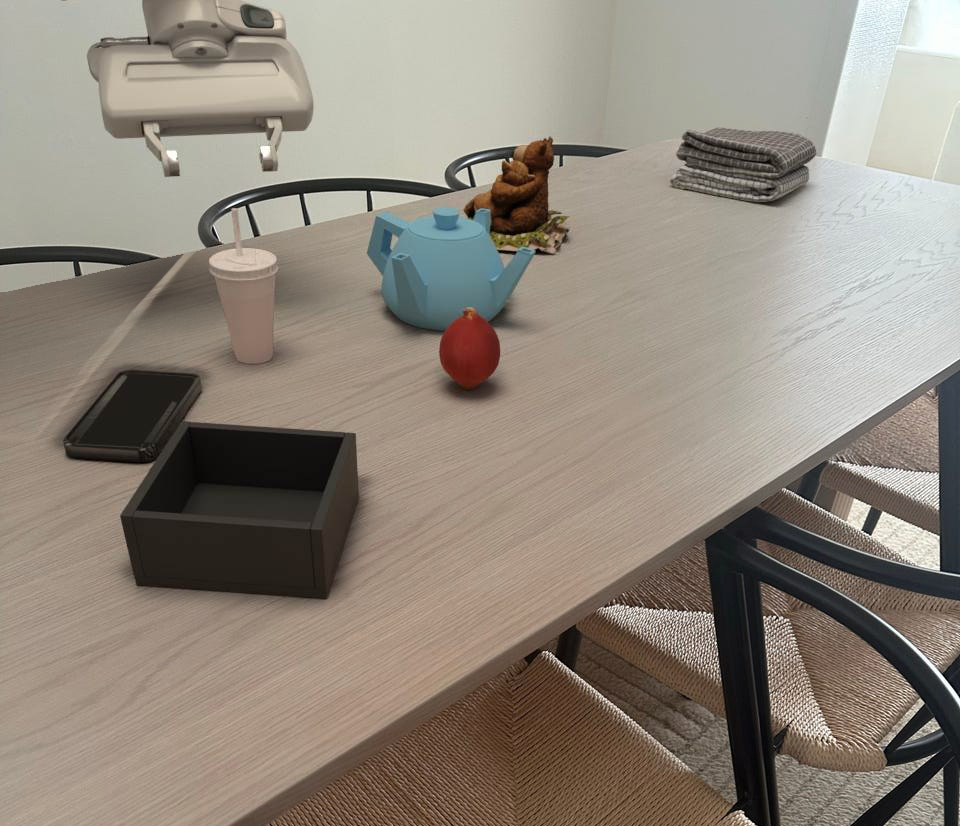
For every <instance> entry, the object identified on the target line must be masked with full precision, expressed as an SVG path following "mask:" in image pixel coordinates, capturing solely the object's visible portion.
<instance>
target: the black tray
mask: <svg viewBox="0 0 960 826" xmlns="http://www.w3.org/2000/svg"><path fill="white" fill-rule="evenodd" d="M357 448H358V447H357V433H356V432H348V431H347V432H346V431H332V430H320V429H319V430H318V429H303V428H289V427H288V428H287V427H273V426H258V425H246V424H245V425H243V424H228V423H215V422H214V423H213V422H197V421H185V420H181V422H180V423H179V425H178V426H177V428H176V429H175V431H174V432H173V434H172V435H171V437H170V438H169V440H168V441H167V443H166V444H165V446H164V447H163V449H162V450H161V452H160V453H159V455H158V456H157V457H156V459H155V461H154V462H153V464H152V465H151V467H150V468H149V470H148V471H147V473H146V475H145V476H144V478H143V480H142V481H141V483H139V486H138V487H137V489H136V490H135V492H134V493H133V495H132V496H131V497H130V500H129V501H128V503H127V504H126V506H125V507H124V509H123V510H122V512H121V513H120V515H119V517H120V518H119V519H120V521H121V526H122V530H123V534H124V539H125V543H126V548H127V553H128V556H129V561H130V565H131V569H132V574H133V578H134V581H135V585H137V586H144V587H145V586H146V587H159V588H160V587H161V588H171V589H172V588H173V589H185V590H186V589H188V590H200V591H215V592H228V593H229V592H230V593H244V594H255V595H270V596H271V595H272V596H284V597H285V596H286V597H297V598H298V597H299V598H311V599H312V598H313V599H325V600H326V599H328V597H329V593H330V590H331V588H332V584H333V581H334V577H335V574H336V571H337V568H338V566H339V561H340V558H341V556H342V552H343V549H344V546H345V543H346V539H347V536H348V533H349V530H350V526H351V524H352V520H353V518H354V517H353V516H354V514H355V511H356V508H357V504H358V502H359V497H360V492H359V471H358V470H359V469H358V455H357V454H358V452H357V451H358V450H357Z"/></svg>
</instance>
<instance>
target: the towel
mask: <svg viewBox="0 0 960 826" xmlns="http://www.w3.org/2000/svg"><path fill="white" fill-rule="evenodd" d="M681 140H683V142H681V144H680V145H679V147H678V150H677V151H676V152H675V155H676V158H677V159H678V160H680V161H683V162H685V164H681V166H680V167H679V168H678V169H677V170H676V171H675V172H674V173H673V174H672V176H670V179H669V184H670V186H672V187H673V188H676V189H682V190H685V189H686V190H689V191H694V192H700V193H704V194H705V193H706V194H708V195H714V196H716V197H719V196H720V197H722V198H729V199H734V200H740V201H746V202H755V203H769V202H773V201H776V200H778V199H781V198H782V197H784V196H786V195H787V194H790V193H791V192H793V191H794V190H796V189H798V188H799V187H802V186H804V185H805V184H806V183H808V182H809V180H810V168H809V167H808V166H806V164H808V163H809V162H811V161H812V160H813V159H814V158H815V157H816V156H817V154H818V153H817V149H816V145H814V143H813V141H812V140H811V139H808V138H807V137H805V136H802V135H801V134H799V133H795V132H787V131H780V130H779V131H777V130H776V131H775V130H771V131H770V130H768V131H766V130H762V131H759V130H758V131H752V130H744V129H741V130H740V129H736V128H734V129H733V128H726V127H715V128H712V129H710V130H707V131H705V132H699V131H696V130H691V129H686V130H685V131H684V132H683V133H682V136H681Z"/></svg>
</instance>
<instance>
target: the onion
mask: <svg viewBox="0 0 960 826" xmlns="http://www.w3.org/2000/svg"><path fill="white" fill-rule="evenodd" d="M463 313H464V314H463V316H461V317H459V318H457V319H456V320H454V321H453V322H452V323H451V324H450V325H449V326H448V328H447V329H446V330H445V331H444V332H443V333H442V335H441V338H440V341H439V347H438V348H439V349H438V354H439V355H438V356H439V361H440V364H441V366H442V368H443V370H444V372H445V373H447V375H449V377H451V379H453V380H454V381H456V383H458V384H459V385H460V386H461V387H462V388H463V389H465V390H473V389H474V388H476V387H477V386H479V385H480V384H482V383H484V382H486V381H487V380H488V379H489V378H490V377H492V375H493V374H495V371H496V370H497V368H498V367H499V364H500V359H501V341H500V339H499V336H498V334H497V332H496V330H495V329H494V328H493V327H492V325H491V324H490V323H489V322H487V321H486V320H485V319H484V318H483V317H481V316H479V315H478V313H477V312H476V310H475V309H473V308H472V307H471V308H470V307H468V308H466V309H465V310H464V311H463Z"/></svg>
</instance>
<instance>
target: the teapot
mask: <svg viewBox="0 0 960 826" xmlns="http://www.w3.org/2000/svg"><path fill="white" fill-rule="evenodd" d="M490 215H491V210H488V209H482V208H481V209H479V210H477V211H476V212H475V216H474V219H473V220H470V219H467V218H468V217H461V216H460V210H458V209H456V208H454V207H450V206H449V207H447V206H443V207H437V208H434V209H432V215H431V216H430V215H429V216H424V217H420V218H417V219H414V220H412V221H411V222H409V221H407V220H405V219H403V218H400V217H399V216H396V215H395V214H393V213H390V212H389V211H384V212H382V213H379V214H376V215H375V219H374V223H373V227H372V231H371V234H370V239H369V242H368V246H367V250H366V255H367V257H368V258H369V259H370V260H371V262H372V263H373V265H374V266H375V267H376V269H377V270H378V272H380V274H381V275H382V281H381V296H382V299H383V302H384V303H385V305H386V306H387V307H388V308H389V310H390V311H391V312H392V313H393V314H394V315H395V316H396V317H397V318H398V319H399V320H400V321H402V322H404V323H405V324H408V325H411V326H413V327H417V328H420V329H426V330H433V331H442V332H443V331H444V332H445V330H446V329H447V328H448V326H449V325H450V324H451V323H452V322H453V321H454V320H456V319H457V318H459V317H461V316H463V314H464V313H463V311H464V310H465V309H466V308H468V307H470V308H471V307H472V308H473V309H475V310H476V312H477V313H478V315H479V316H481V317H483V318H484V319H485V320H486V321H487V322H488V323H489V322H491V321H492V320H493V319H494V318H495V317H496V316H497V315H498V314H499V313H500V312H501V311H502V309H503V308H504V307H505V306H506V304H507V301H509V299H510V298H511V296H512V294H513V293H514V291H515V289H516V288H517V286H518V284H519V282H520V281H521V279H522V277H523V275H524V274H525V272H526V270H527V269H528V267H529V264H530V263H531V262H532V260H533V258H534V256H535V254H536V249H535V250H532V249H529V248H525V247H521V248H519V249H518V251H516V253H515V254H514V256H513V257H512V258H511V260H509V262H508V263H507V264H506V266H504V263H503V259H502V257H501V255H500V253H499V250H497V249H496V247H495V245H494V243H493V241H492V239H491V237H490ZM393 235H394V236H395V237H396V238H398V239H397V241H396V243H395V244H394V246H393V248H392V247H391V246H392V239H393Z"/></svg>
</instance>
